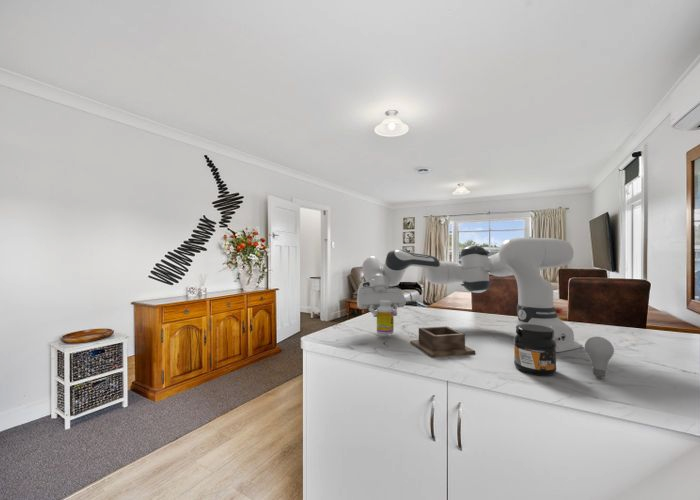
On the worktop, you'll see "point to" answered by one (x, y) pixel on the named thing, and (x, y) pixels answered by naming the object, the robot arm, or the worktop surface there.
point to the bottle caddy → (441, 342)
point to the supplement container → (535, 349)
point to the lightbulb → (599, 354)
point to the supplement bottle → (385, 318)
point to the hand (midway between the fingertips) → (385, 315)
